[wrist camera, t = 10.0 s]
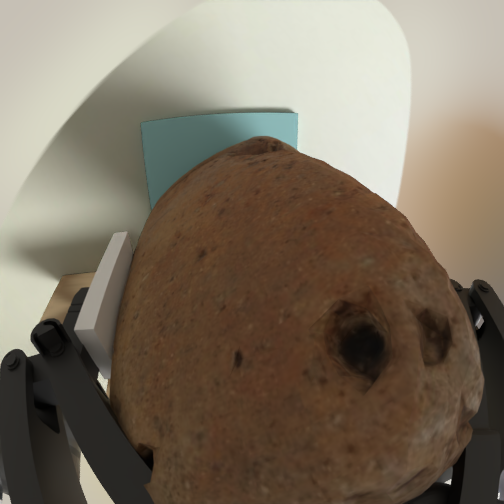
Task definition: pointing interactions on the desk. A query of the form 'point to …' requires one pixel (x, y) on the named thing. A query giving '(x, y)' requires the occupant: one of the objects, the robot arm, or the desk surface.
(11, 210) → the desk surface
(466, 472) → the robot arm
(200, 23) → the desk surface
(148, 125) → the mat
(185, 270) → the brown pitted rock
